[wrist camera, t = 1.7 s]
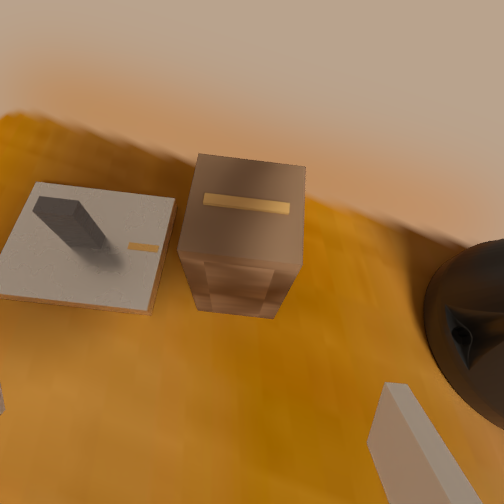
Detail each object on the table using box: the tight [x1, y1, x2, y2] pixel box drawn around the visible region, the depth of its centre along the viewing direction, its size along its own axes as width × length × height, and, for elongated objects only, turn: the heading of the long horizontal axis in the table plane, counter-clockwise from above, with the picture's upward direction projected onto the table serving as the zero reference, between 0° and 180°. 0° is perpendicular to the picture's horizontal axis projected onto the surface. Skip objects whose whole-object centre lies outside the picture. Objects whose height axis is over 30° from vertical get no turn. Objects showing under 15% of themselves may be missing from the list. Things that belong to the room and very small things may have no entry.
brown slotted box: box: [177, 154, 306, 319], centre depth 21 cm, size 6×6×11 cm
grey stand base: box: [0, 182, 177, 316], centre depth 23 cm, size 12×10×6 cm
